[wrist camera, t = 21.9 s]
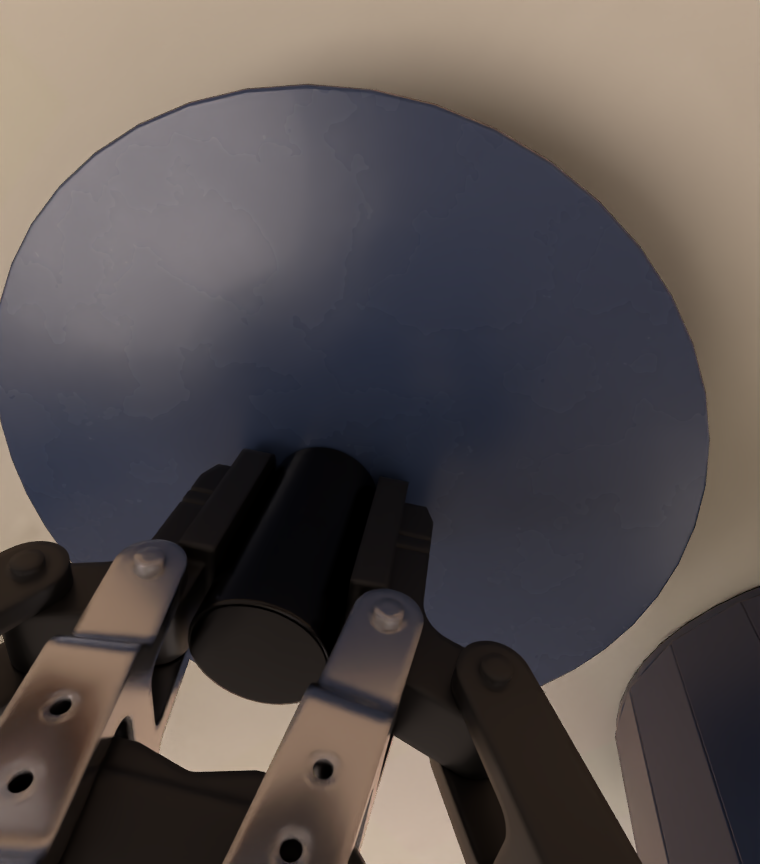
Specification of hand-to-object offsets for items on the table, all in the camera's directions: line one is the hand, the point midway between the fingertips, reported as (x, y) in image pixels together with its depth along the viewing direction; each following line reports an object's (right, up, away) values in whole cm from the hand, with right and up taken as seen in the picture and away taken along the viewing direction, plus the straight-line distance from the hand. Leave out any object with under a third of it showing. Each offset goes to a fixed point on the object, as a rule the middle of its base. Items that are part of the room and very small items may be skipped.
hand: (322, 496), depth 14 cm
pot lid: (0, 0, +1) cm, 1 cm away
